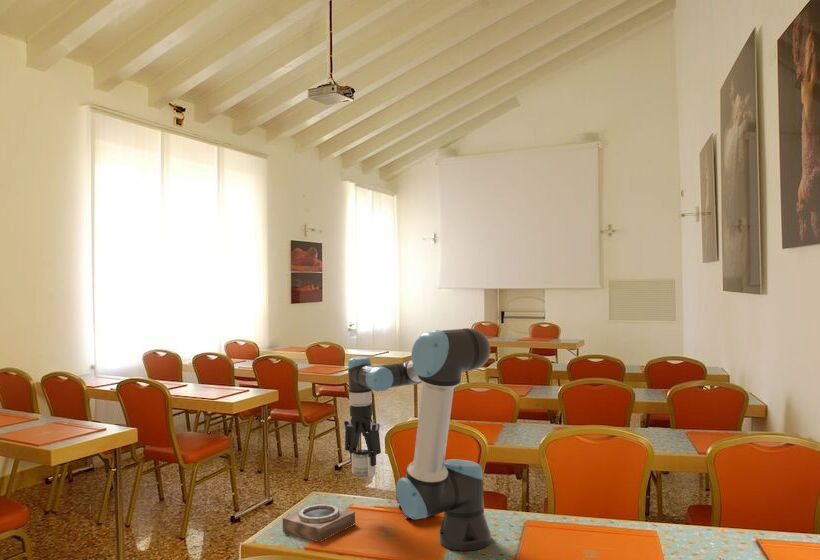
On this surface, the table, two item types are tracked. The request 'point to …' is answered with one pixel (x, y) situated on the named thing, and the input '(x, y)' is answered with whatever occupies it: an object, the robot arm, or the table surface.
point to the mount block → (318, 521)
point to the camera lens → (361, 463)
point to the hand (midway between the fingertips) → (363, 473)
